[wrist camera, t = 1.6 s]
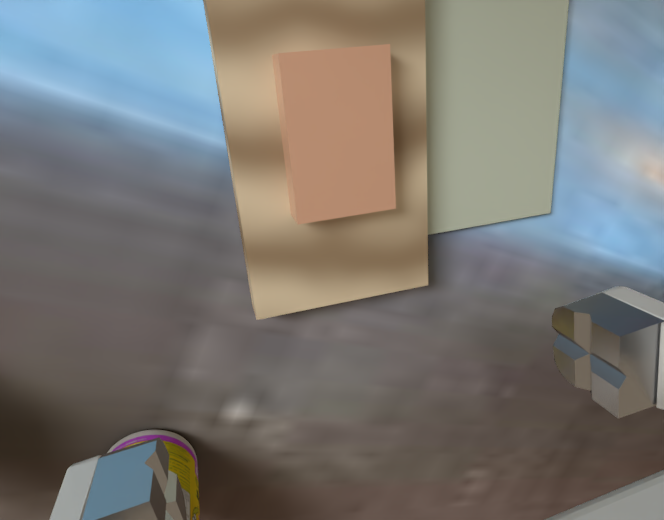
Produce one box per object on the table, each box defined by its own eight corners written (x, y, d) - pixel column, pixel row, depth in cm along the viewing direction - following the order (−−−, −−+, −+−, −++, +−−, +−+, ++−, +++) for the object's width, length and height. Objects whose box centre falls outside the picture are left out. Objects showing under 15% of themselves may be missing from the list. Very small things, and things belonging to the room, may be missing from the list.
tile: (271, 54, 26) (278, 53, 24) (376, 46, 28) (390, 44, 26) (290, 215, 30) (297, 224, 28) (383, 200, 31) (395, 208, 29)
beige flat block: (191, -75, 25) (191, -89, 23) (405, -80, 28) (424, -93, 26) (252, 304, 33) (256, 320, 31) (413, 272, 36) (428, 285, 34)
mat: (407, -20, 29) (411, -22, 28) (564, -28, 31) (571, -30, 31) (412, 234, 35) (416, 236, 34) (545, 210, 37) (550, 213, 37)
